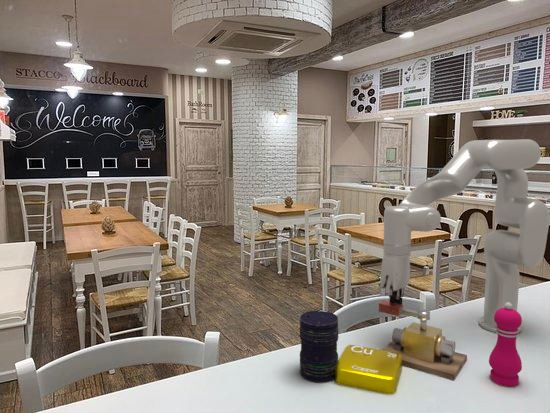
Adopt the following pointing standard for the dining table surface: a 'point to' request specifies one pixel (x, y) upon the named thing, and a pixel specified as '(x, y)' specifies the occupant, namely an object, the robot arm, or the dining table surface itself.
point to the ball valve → (423, 342)
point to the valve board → (433, 368)
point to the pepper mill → (506, 347)
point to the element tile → (369, 369)
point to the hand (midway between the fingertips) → (395, 310)
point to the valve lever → (402, 310)
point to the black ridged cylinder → (318, 346)
